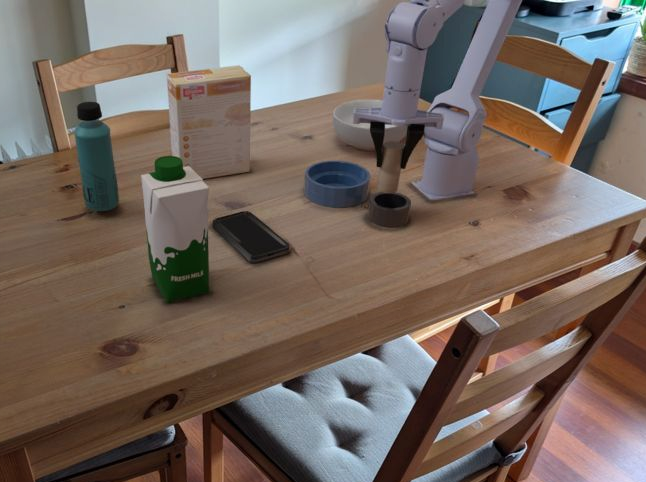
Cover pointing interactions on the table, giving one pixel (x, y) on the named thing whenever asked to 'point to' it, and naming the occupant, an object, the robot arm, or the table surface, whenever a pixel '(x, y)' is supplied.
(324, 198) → the bowl
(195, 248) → the milk carton
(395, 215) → the mortar
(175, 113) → the coffeecake box
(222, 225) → the phone
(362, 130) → the cereal bowl
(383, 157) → the pestle
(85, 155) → the beverage bottle
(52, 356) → the table surface
